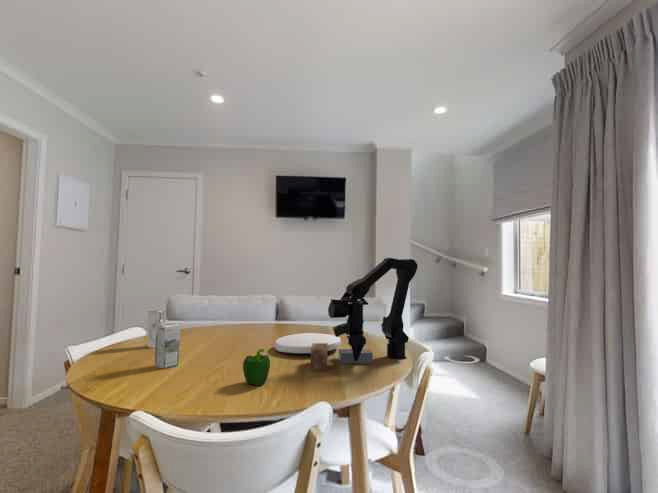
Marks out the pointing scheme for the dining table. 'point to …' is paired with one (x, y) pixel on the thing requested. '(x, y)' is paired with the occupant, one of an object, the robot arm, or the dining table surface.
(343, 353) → the slate slab
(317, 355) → the walnut shelf
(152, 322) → the beer glass
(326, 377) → the dining table surface
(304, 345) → the plate
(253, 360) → the bell pepper
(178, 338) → the syrup box
